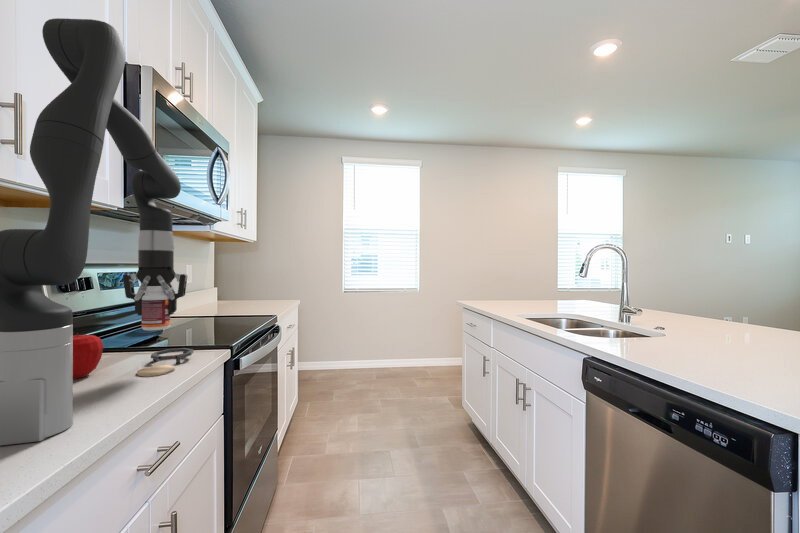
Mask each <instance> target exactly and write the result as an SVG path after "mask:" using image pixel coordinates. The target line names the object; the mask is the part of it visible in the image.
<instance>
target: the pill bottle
mask: <svg viewBox="0 0 800 533" xmlns="http://www.w3.org/2000/svg"><path fill="white" fill-rule="evenodd" d="M145 291H146V294H145V295H143V296H142V315H141V330H144V331H162V330H166V329H169V328H170V327H171V315H169V300H170V298H169V296H168V295H167V293H166V292H165V291H164V289H163V287H162V286H147V287H146V289H145Z"/></svg>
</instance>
